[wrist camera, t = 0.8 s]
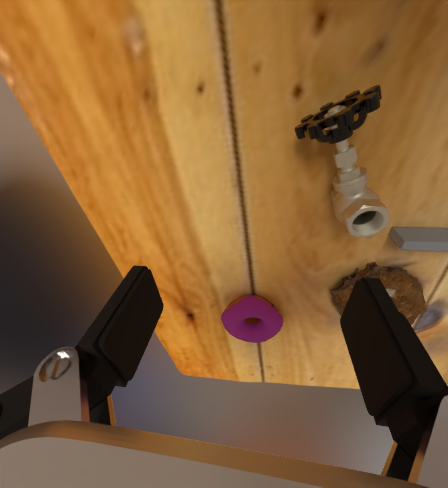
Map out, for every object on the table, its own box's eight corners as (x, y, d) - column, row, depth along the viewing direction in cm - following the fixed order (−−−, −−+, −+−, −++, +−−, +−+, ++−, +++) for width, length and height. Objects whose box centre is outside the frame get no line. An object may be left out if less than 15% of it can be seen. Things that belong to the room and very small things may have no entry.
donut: (290, 315, 40) (293, 338, 37) (247, 330, 45) (246, 351, 42) (256, 283, 36) (256, 305, 33) (214, 303, 41) (209, 324, 38)
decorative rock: (427, 309, 35) (396, 245, 30) (445, 331, 32) (414, 264, 26) (354, 330, 40) (316, 279, 34) (363, 352, 36) (322, 298, 31)
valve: (381, 197, 25) (364, 83, 19) (412, 228, 20) (400, 85, 14) (321, 217, 28) (290, 122, 22) (334, 249, 22) (298, 135, 17)
